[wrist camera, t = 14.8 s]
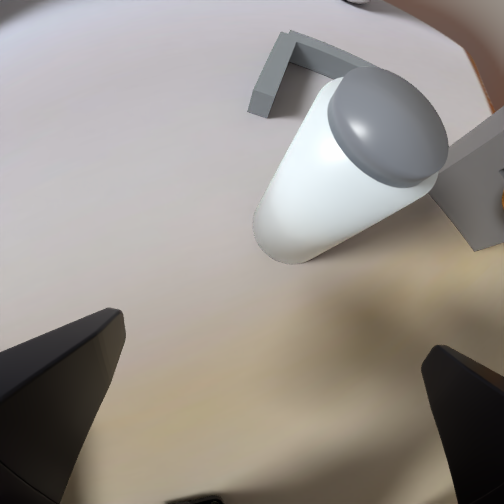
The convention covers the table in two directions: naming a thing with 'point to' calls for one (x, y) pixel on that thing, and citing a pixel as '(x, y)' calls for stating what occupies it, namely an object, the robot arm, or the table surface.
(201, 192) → the table surface
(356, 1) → the plastic bottle
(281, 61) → the cradle
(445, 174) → the block
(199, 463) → the table surface
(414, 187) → the cylinder
